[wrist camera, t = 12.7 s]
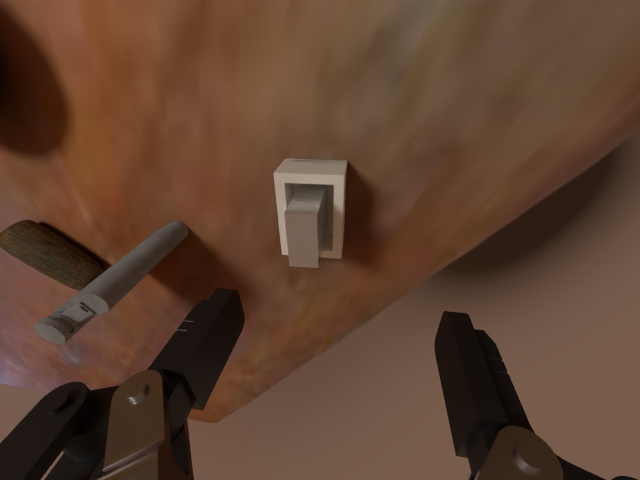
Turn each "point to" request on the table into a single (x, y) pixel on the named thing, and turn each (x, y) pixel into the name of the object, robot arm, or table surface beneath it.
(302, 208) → the tall brushed metal block
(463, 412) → the robot arm
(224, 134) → the table surface
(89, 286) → the hip flask
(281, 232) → the hollow off-white angular block
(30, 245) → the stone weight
